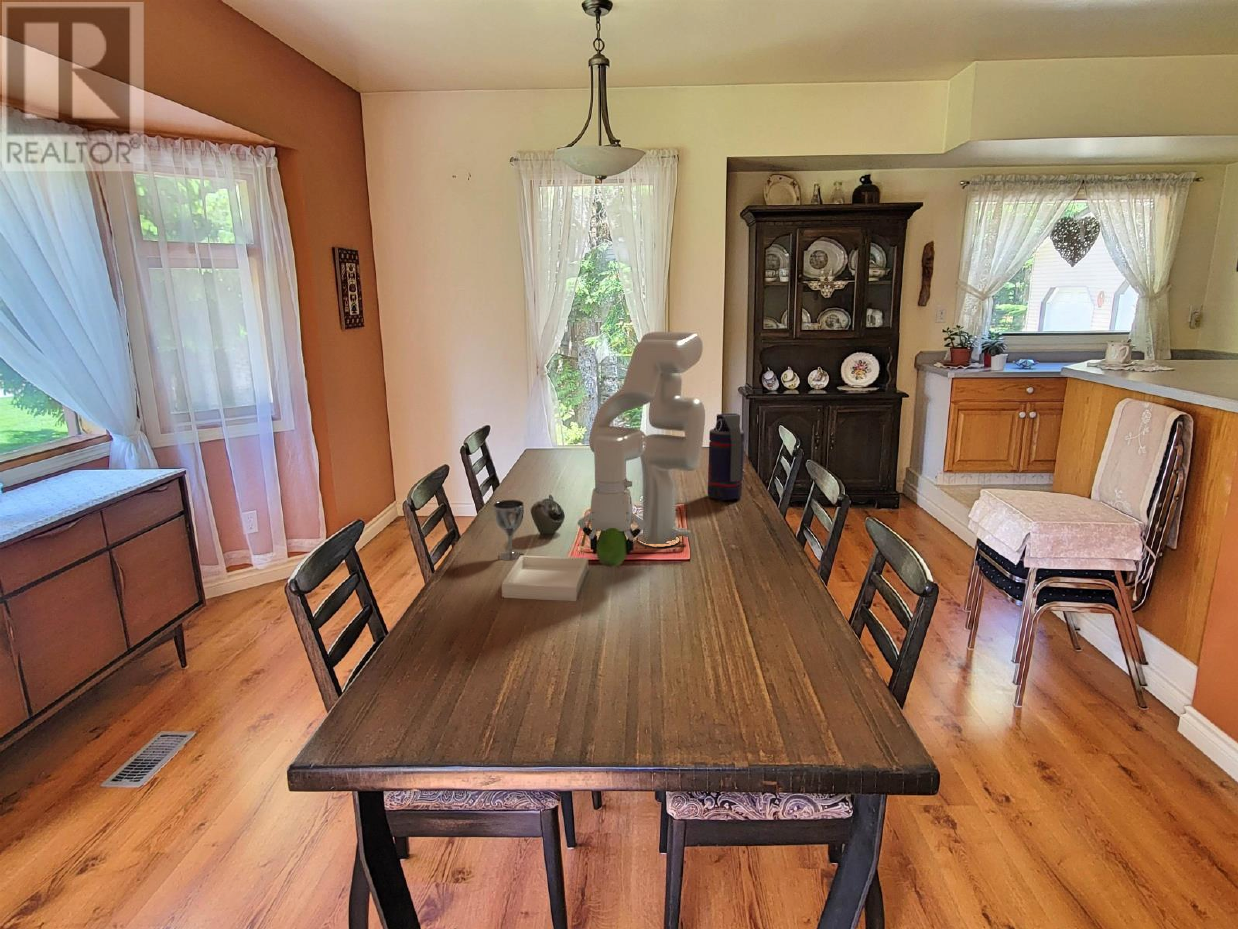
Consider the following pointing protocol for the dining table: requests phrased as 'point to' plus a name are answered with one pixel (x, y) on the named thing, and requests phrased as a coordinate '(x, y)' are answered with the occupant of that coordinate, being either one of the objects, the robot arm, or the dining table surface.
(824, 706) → the dining table surface
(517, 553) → the wine glass
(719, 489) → the grenade
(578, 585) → the tray
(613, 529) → the avocado
